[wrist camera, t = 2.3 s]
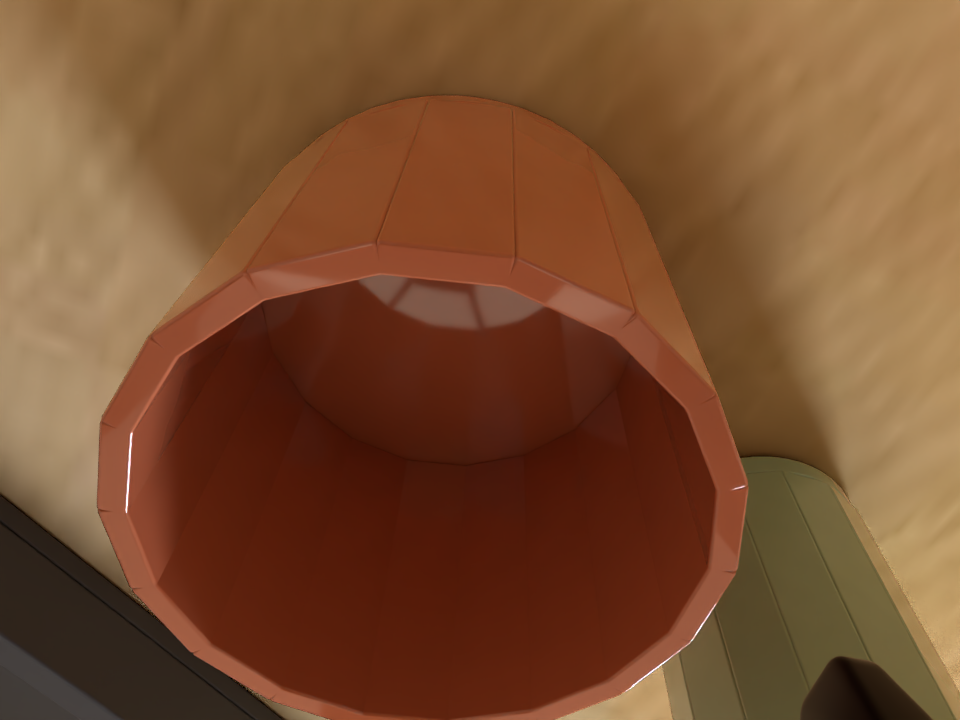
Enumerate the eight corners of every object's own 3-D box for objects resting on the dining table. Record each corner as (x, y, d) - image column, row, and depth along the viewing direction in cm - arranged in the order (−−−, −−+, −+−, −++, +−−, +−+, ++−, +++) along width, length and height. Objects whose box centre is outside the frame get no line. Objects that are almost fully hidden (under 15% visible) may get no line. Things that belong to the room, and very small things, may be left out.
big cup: (727, 351, 14) (850, 609, 9) (409, 513, 17) (366, 793, 11) (514, -8, 11) (521, 80, 6) (162, 249, 14) (-46, 468, 9)
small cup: (885, 559, 17) (1071, 889, 11) (695, 633, 18) (777, 960, 13) (805, 419, 15) (980, 730, 10) (601, 514, 16) (649, 833, 11)
